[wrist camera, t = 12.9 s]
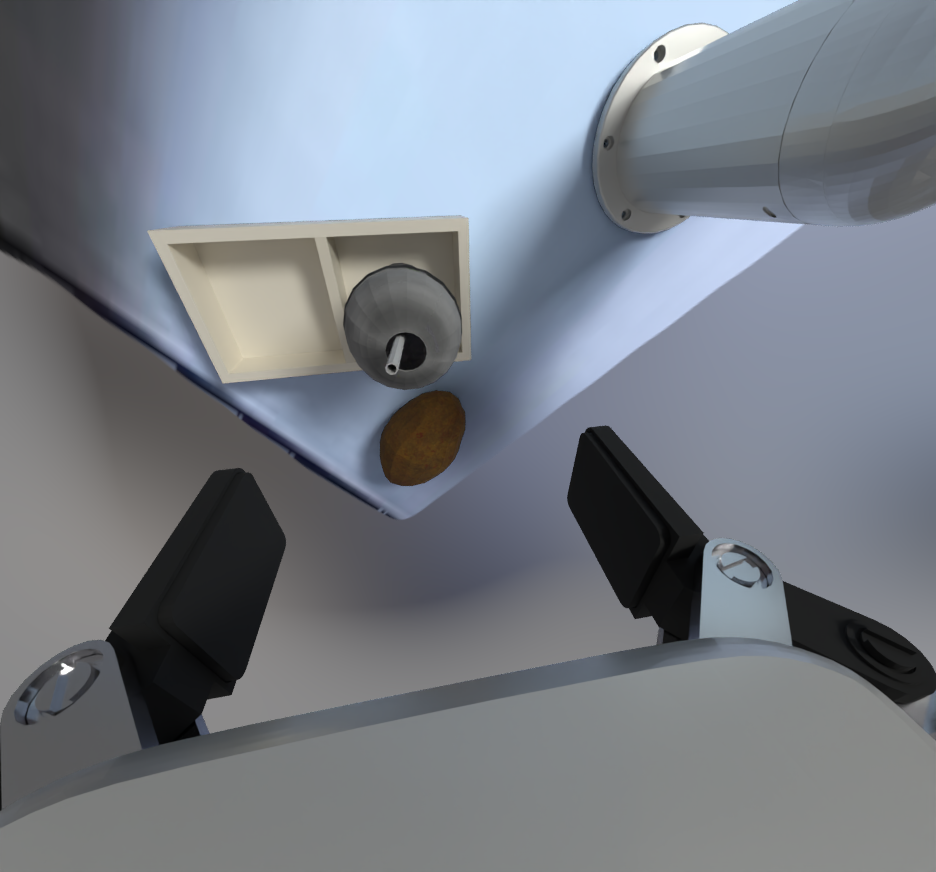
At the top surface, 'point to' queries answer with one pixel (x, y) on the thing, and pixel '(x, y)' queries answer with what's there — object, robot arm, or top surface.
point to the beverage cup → (402, 326)
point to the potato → (422, 438)
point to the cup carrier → (300, 285)
